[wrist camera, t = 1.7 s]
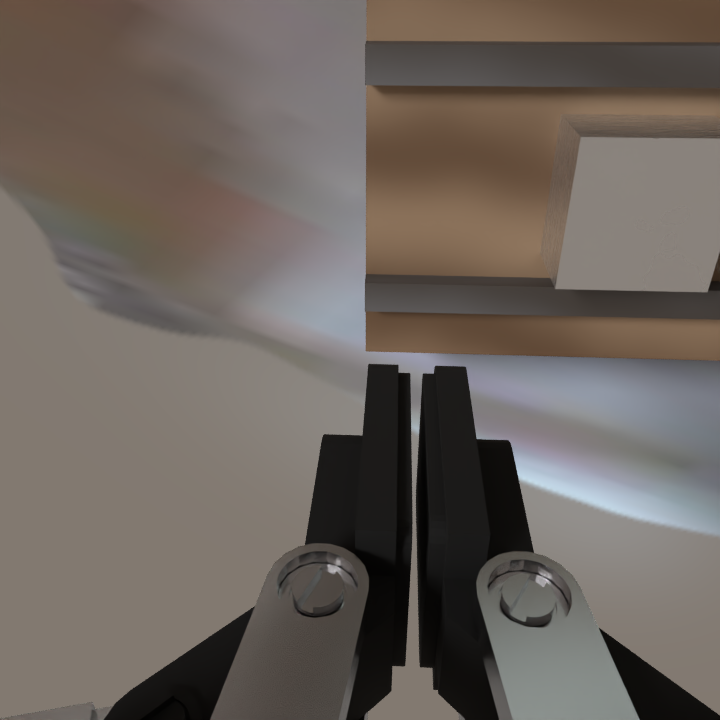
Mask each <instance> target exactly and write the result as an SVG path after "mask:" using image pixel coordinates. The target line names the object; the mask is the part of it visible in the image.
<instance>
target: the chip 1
mask: <svg viewBox="0 0 720 720" xmlns="http://www.w3.org/2000/svg"><path fill="white" fill-rule="evenodd" d="M719 253H720V119H719V118H718V117H716V116H714V115H610V114H561V117H560V124H559V130H558V137H557V144H556V150H555V157H554V164H553V170H552V177H551V183H550V190H549V197H548V203H547V210H546V217H545V223H544V230H543V237H542V243H541V250H540V254H541V257H542V259H543V262H544V264H545V266H546V269H547V271H548V273H549V276H550V278H551V280H552V283H553V285H554V287H555V289H575V290H621V291H667V292H708V289H709V286H710V282H711V279H712V276H713V272H714V269H715V266H716V262H717V259H718V256H719Z"/></svg>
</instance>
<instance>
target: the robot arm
mask: <svg viewBox="0 0 720 720" xmlns="http://www.w3.org/2000/svg"><path fill="white" fill-rule="evenodd" d="M411 463H412V461H411V393H410V373H398V365H384V364H369V365H368V376H367V388H366V401H365V413H364V426H363V436H359V435H326V434H324V435H323V438H322V443H321V449H320V456H319V461H318V467H317V473H316V480H315V486H314V492H313V498H312V504H311V511H310V517H309V523H308V529H307V536H306V542H305V545H304V546H300V547H297V548H295V549H293V550H291V551H289V552H287V553H285V554H284V555H283V556H282V557H281V558H280V559H278V560H277V561H276V562H275V563H274V565H273V566H272V568H271V570H270V571H269V573H268V575H267V577H266V580H265V582H264V585H263V587H262V590H261V593H260V595H259V597H258V600H257V603H256V605H255V606H254V607H253V608H251V609H250V610H249V611H247V612H245V613H244V614H243V615H241V616H240V617H238V618H237V619H235V620H234V621H232V622H231V623H229V624H228V625H226V626H225V627H223V628H222V629H220V630H219V631H217V632H216V633H214V634H213V635H212V636H210V637H209V638H207V639H206V640H204V641H203V642H201V643H200V644H198V645H197V646H195V647H194V648H192V649H191V650H189V651H188V652H186V653H185V654H184V655H182V656H180V657H179V658H178V659H176V660H175V661H173V662H172V663H170V664H169V665H167V666H166V667H164V668H163V669H161V670H160V671H158V672H157V673H155V674H154V675H152V676H151V677H149V678H148V679H146V680H145V681H144V682H142V683H141V684H139V685H138V686H136V687H135V688H133V689H132V690H130V691H129V692H128V693H127V694H126V695H124V696H123V697H122V698H121V699H120V700H119V701H118V702H116V703H115V705H114V706H110V707H105V708H99V709H95V707H94V705H93V702H89V703H84V704H78V705H73V706H67V707H61V708H56V709H50V710H45V711H39V712H34V713H28V714H23V715H17V716H11V717H6V718H0V720H368V711H369V710H370V709H372V708H373V707H374V706H375V705H376V704H377V703H378V702H380V701H381V700H382V699H383V698H384V697H385V696H386V695H388V694H389V693H390V692H391V685H392V666H405V661H406V660H405V659H406V642H407V624H408V606H409V588H410V570H411V551H412V465H411ZM417 467H418V468H417V485H416V525H417V570H418V612H419V613H418V615H419V616H418V617H419V660H420V667H427V668H433V689H434V690H438V694H439V695H440V696H442V697H443V698H444V699H445V700H446V701H447V702H448V703H449V704H450V705H451V706H452V707H453V708H454V709H455V710H456V711H457V712H458V713H459V720H720V715H718V714H717V713H716V712H714V711H713V710H711V709H710V708H708V707H707V706H706V705H704V704H703V703H702V702H700V701H699V700H698V699H696V698H695V697H693V696H692V695H691V694H689V693H688V692H686V691H685V690H684V689H682V688H681V687H680V686H678V685H677V684H675V683H674V682H673V681H671V680H670V679H669V678H667V677H666V676H664V675H663V674H662V673H660V672H659V671H658V670H656V669H655V668H653V667H652V666H651V665H649V664H648V663H647V662H645V661H644V660H642V659H641V658H640V657H638V656H637V655H636V654H634V653H633V652H631V651H630V650H629V649H627V648H626V647H625V646H623V645H622V644H620V643H619V642H618V641H616V640H615V639H614V638H612V637H611V636H609V635H608V634H607V633H605V632H604V631H602V630H601V629H600V628H598V626H597V623H596V621H595V619H594V617H593V614H592V612H591V610H590V608H589V605H588V603H587V601H586V599H585V597H584V594H583V592H582V590H581V588H580V586H579V585H578V583H577V581H576V580H575V578H574V577H573V575H572V574H571V573H570V572H568V571H567V570H566V569H565V568H564V567H563V566H562V565H560V564H559V563H557V562H555V561H553V560H552V559H550V558H548V557H546V556H543V555H539V554H535V553H534V551H533V546H532V541H531V537H530V532H529V527H528V522H527V518H526V513H525V508H524V503H523V499H522V494H521V489H520V484H519V480H518V475H517V470H516V465H515V461H514V456H513V451H512V447H511V444H510V442H509V441H508V440H482V439H476V433H475V426H474V419H473V412H472V405H471V398H470V391H469V384H468V377H467V370H466V367H458V366H435V369H434V374H423V378H422V395H421V413H420V430H419V448H418V466H417Z"/></svg>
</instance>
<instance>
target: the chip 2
mask: <svg viewBox="0 0 720 720" xmlns="http://www.w3.org/2000/svg"><path fill="white" fill-rule="evenodd" d="M715 269H716V270H717V271H718V272H719V273H720V253H719V256H718V259H717V262H716V266H715Z"/></svg>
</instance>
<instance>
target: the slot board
mask: <svg viewBox="0 0 720 720" xmlns="http://www.w3.org/2000/svg"><path fill="white" fill-rule="evenodd" d="M365 85H367V88H366V279H365V311H366V351H375V352H413V353H451V354H489V355H526V356H564V357H602V358H640V359H678V360H716V361H720V273H719V272H718V271H717V270H716V269H714V272H713V276H712V279H711V282H710V286H709V289H708V292H667V291H621V290H575V289H555V287H554V285H553V283H552V280H551V278H550V276H549V273H548V271H547V269H546V266H545V264H544V262H543V259H542V257H541V254H540V250H541V243H542V237H543V230H544V223H545V217H546V210H547V203H548V197H549V190H550V183H551V177H552V170H553V164H554V157H555V150H556V144H557V137H558V130H559V124H560V117H561V114H610V115H714V116H716V117H718V118H719V119H720V0H367V41H366V44H365Z"/></svg>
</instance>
